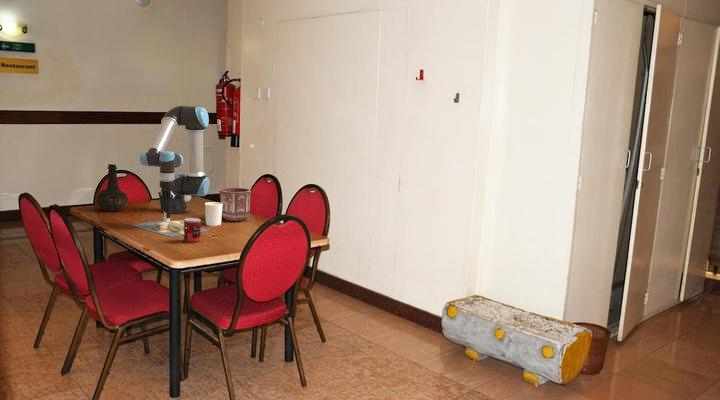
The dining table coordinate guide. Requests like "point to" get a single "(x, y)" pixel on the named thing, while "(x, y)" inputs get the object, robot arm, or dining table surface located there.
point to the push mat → (168, 232)
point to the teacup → (187, 198)
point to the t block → (171, 226)
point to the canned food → (192, 230)
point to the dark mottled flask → (112, 193)
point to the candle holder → (213, 213)
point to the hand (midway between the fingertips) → (166, 223)
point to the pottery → (235, 203)
